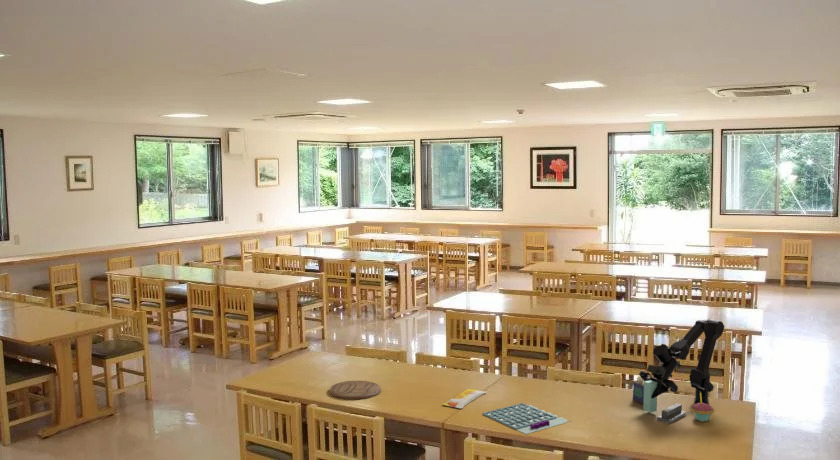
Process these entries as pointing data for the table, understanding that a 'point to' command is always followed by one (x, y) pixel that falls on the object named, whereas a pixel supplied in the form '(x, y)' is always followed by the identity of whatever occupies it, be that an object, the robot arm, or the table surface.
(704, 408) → the cupcake
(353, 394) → the trivet
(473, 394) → the food package
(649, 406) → the peg
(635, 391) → the blue gift bag
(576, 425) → the table surface
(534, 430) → the calendar
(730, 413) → the table surface
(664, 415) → the grey stepped block
